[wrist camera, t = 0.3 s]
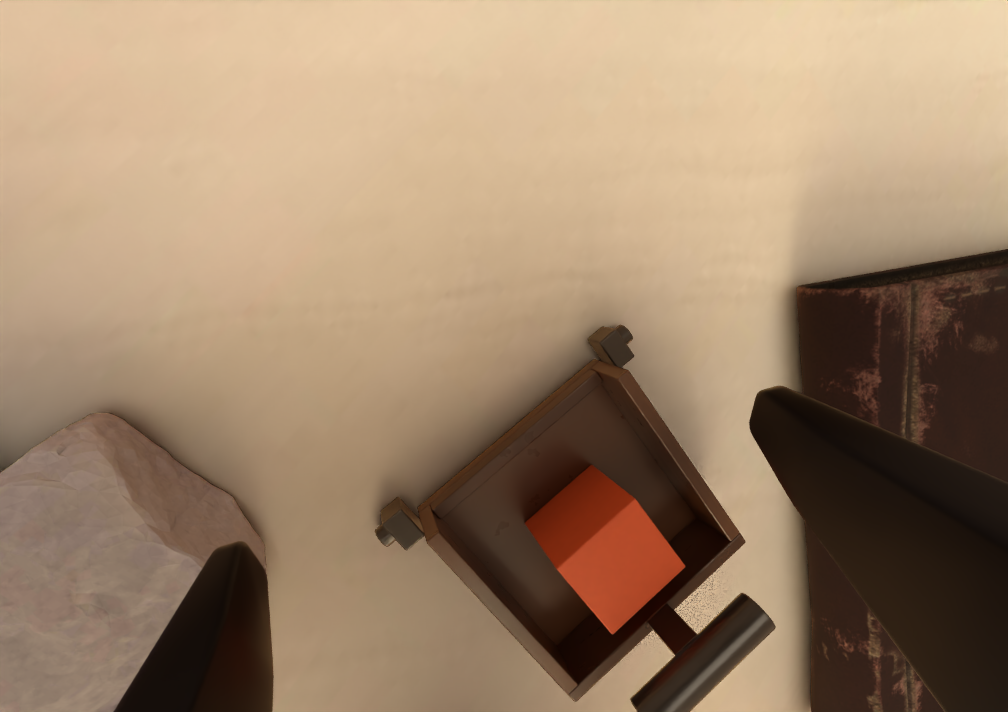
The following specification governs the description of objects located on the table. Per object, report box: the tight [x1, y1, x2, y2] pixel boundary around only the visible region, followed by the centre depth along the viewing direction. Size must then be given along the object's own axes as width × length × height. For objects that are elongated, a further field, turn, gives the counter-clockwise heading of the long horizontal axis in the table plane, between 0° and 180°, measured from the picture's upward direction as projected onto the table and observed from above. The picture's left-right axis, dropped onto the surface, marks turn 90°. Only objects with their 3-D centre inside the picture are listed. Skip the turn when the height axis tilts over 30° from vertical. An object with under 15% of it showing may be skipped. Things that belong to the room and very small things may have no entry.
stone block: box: [0, 413, 267, 712], centre depth 19 cm, size 12×5×10 cm
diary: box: [797, 249, 1008, 712], centre depth 29 cm, size 19×25×5 cm
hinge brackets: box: [375, 325, 634, 550], centre depth 24 cm, size 2×14×1 cm, turn 128°
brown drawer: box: [417, 359, 775, 712], centre depth 22 cm, size 11×10×7 cm
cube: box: [525, 465, 685, 634], centre depth 23 cm, size 4×4×4 cm
